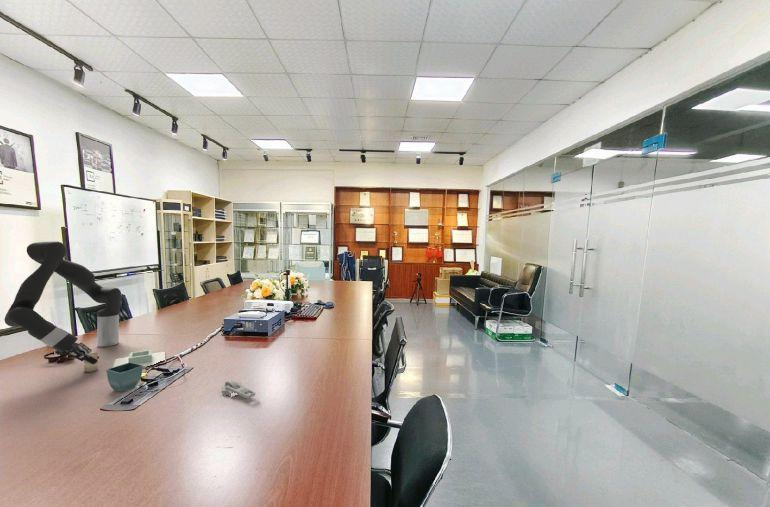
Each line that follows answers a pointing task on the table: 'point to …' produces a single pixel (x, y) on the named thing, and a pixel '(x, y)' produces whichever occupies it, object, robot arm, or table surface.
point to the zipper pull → (236, 389)
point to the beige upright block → (88, 366)
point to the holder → (141, 358)
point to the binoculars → (62, 356)
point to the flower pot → (124, 376)
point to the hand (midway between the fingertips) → (96, 360)
